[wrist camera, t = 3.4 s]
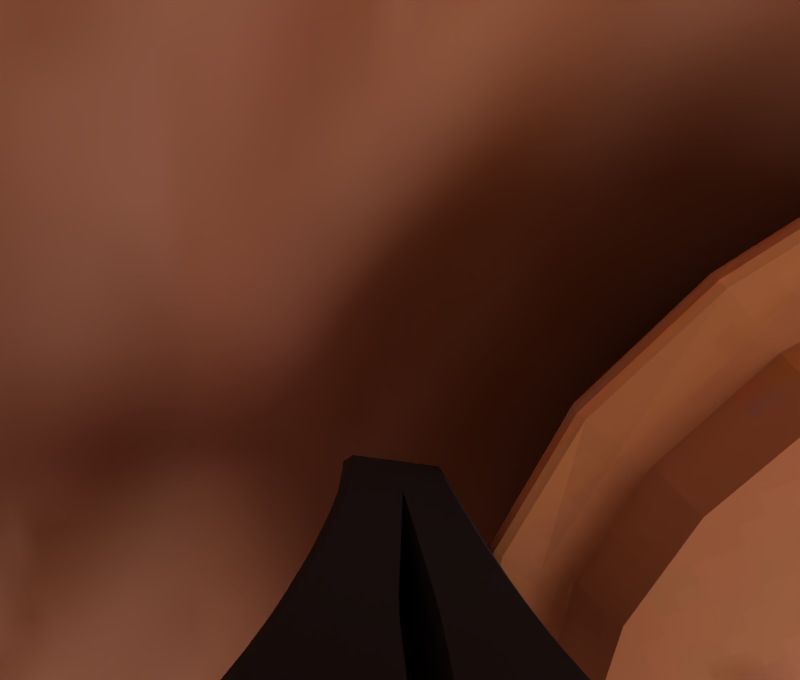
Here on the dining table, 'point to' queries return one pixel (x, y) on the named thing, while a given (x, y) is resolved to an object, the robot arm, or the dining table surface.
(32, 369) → the dining table surface
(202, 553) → the dining table surface
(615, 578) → the pie
